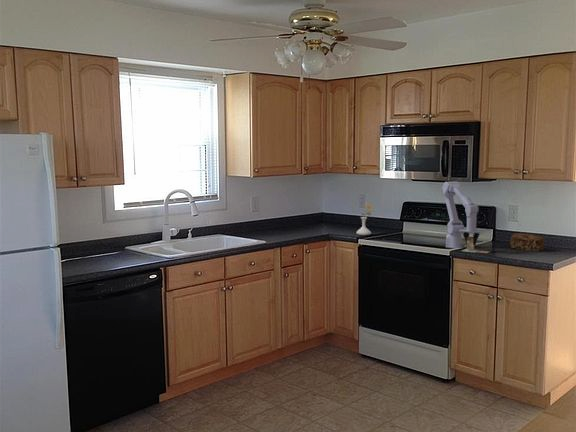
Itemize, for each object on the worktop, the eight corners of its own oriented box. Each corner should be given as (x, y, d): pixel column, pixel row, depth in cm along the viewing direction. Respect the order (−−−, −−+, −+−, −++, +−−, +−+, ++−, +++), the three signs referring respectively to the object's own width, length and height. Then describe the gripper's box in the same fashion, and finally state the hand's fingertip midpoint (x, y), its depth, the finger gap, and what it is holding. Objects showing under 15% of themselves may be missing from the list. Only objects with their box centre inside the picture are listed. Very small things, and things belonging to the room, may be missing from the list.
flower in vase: (359, 236, 422) (359, 203, 419) (354, 234, 433) (354, 202, 430) (375, 235, 425) (375, 203, 422) (369, 233, 436) (370, 201, 433)
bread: (509, 248, 366) (510, 233, 365) (516, 246, 373) (517, 231, 372) (538, 252, 352) (539, 236, 351) (545, 250, 360) (546, 234, 359)
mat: (461, 251, 354) (461, 250, 354) (466, 249, 361) (466, 248, 361) (475, 253, 348) (475, 252, 348) (480, 251, 355) (480, 250, 355)
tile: (481, 252, 355) (477, 253, 350) (481, 250, 355) (477, 251, 349) (490, 253, 351) (486, 254, 346) (490, 251, 351) (486, 252, 346)
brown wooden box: (466, 249, 354) (466, 237, 354) (468, 248, 356) (468, 236, 355) (473, 250, 352) (473, 237, 351) (474, 249, 354) (474, 237, 353)
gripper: (457, 223, 354) (457, 244, 355) (480, 225, 345) (480, 246, 347) (462, 222, 359) (461, 243, 361) (484, 223, 351) (483, 245, 352)
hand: (470, 244), depth 354 cm, fingers closed on brown wooden box, 4 cm apart
